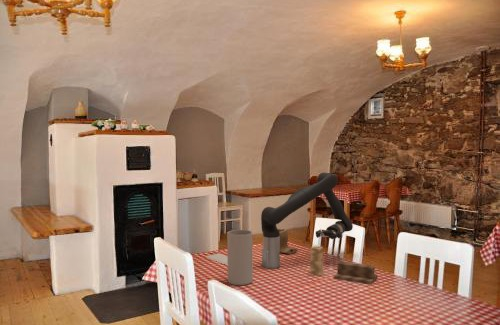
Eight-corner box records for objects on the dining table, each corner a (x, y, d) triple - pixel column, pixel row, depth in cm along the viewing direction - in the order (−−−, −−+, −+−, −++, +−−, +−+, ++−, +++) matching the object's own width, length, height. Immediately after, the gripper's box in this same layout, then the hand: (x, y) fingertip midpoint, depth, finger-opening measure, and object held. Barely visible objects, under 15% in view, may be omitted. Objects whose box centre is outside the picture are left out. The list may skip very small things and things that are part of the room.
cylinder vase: (256, 279, 228) (256, 231, 227) (246, 287, 217) (245, 235, 216) (234, 276, 233) (234, 229, 232) (223, 283, 222) (222, 233, 221)
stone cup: (267, 252, 284) (267, 228, 283) (280, 248, 292) (280, 226, 291) (286, 256, 273) (285, 232, 272) (298, 253, 281) (298, 229, 281)
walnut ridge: (333, 278, 229) (333, 265, 229) (341, 272, 239) (341, 259, 239) (371, 284, 219) (371, 270, 219) (377, 277, 230) (377, 264, 229)
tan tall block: (310, 274, 237) (310, 248, 236) (314, 271, 241) (314, 246, 240) (319, 275, 234) (319, 249, 234) (322, 273, 239) (322, 247, 238)
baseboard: (234, 270, 247) (250, 266, 254) (234, 265, 247) (250, 261, 254) (202, 259, 270) (218, 255, 278) (202, 254, 270) (218, 251, 278)
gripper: (322, 223, 264) (312, 228, 250) (346, 225, 257) (336, 231, 243) (323, 236, 264) (312, 242, 250) (346, 238, 257) (337, 244, 243)
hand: (324, 236), depth 246 cm, fingers open, 8 cm apart
